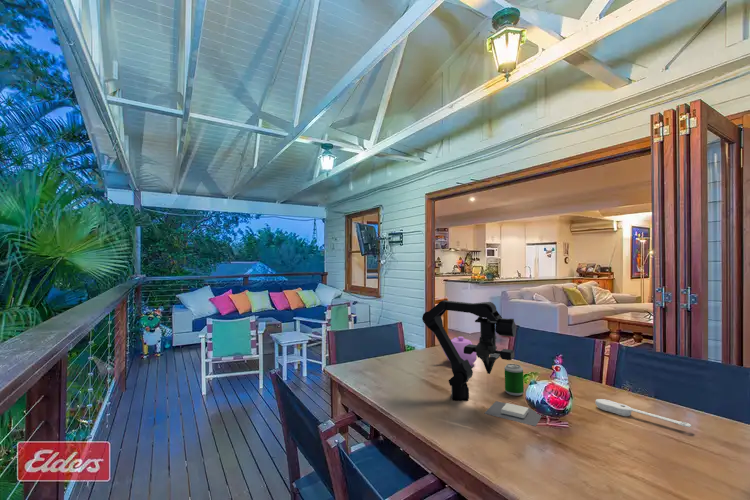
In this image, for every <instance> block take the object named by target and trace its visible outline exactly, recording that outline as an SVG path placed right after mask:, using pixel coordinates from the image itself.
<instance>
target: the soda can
mask: <svg viewBox="0 0 750 500" xmlns="http://www.w3.org/2000/svg"><path fill="white" fill-rule="evenodd" d="M524 387H525V386H524V368H523V367H522V366H521V365H520V364H518V363H517V364H516V363H507V364H506V365H505V366H504V389H505V390H504V391H505V392H506V393H507V394H508V395H510V396H515V397H517V396H522V395H524V394H525V393H524V392H525V390H524V389H525V388H524Z"/></svg>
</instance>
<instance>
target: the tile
mask: <svg viewBox="0 0 750 500" xmlns="http://www.w3.org/2000/svg"><path fill="white" fill-rule="evenodd" d="M505 403H506V404H505V406H504V407H503V408H502V409H501V413H503V414H507V415H511V416H515V417H519V418H525V416H526V415H527V413H528V412H529V409H530V407H526V406H522V405H519V404H518V405H517V404H513V403H509V402H505Z"/></svg>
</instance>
